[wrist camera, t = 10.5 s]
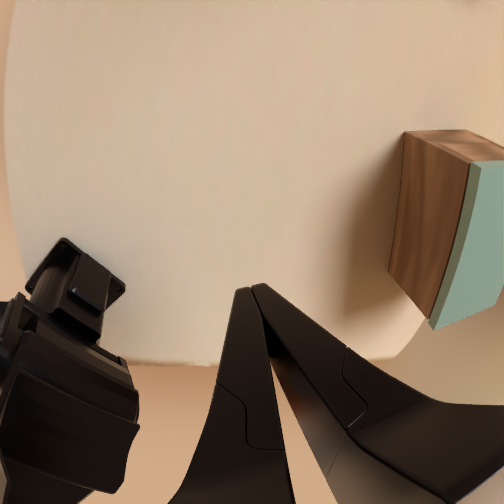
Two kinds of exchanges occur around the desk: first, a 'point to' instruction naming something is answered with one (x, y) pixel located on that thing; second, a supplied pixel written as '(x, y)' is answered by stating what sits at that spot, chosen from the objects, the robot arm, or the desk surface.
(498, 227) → the lid
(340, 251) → the desk surface
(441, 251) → the walnut box
